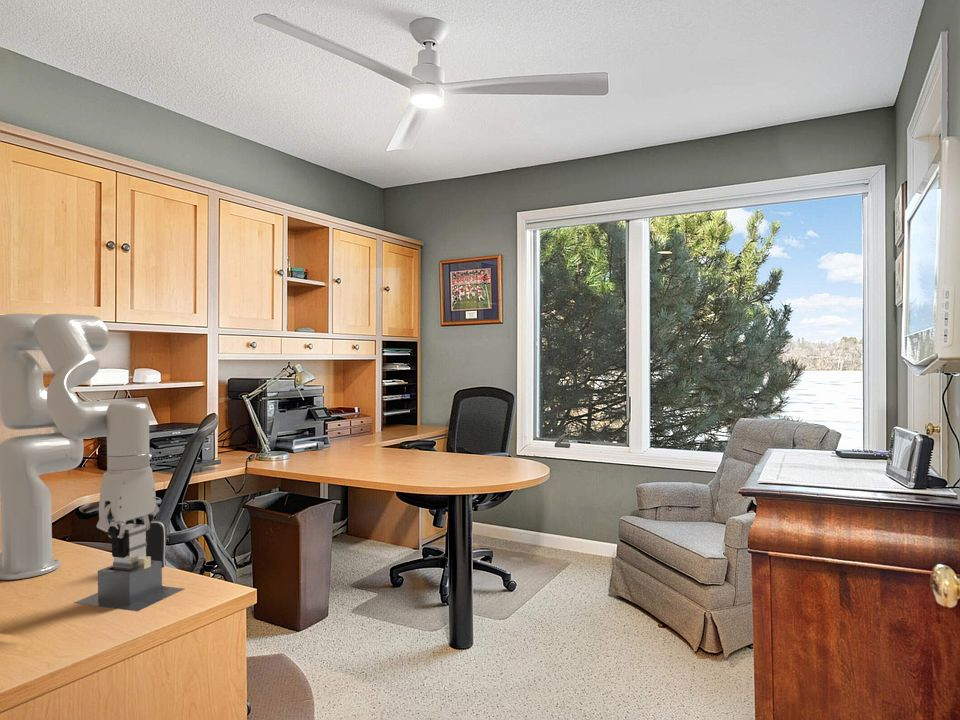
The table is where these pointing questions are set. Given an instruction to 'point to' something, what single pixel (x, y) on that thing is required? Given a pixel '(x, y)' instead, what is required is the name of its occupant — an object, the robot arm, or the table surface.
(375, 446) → the table surface
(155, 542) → the battery charger
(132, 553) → the column
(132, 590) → the stand
